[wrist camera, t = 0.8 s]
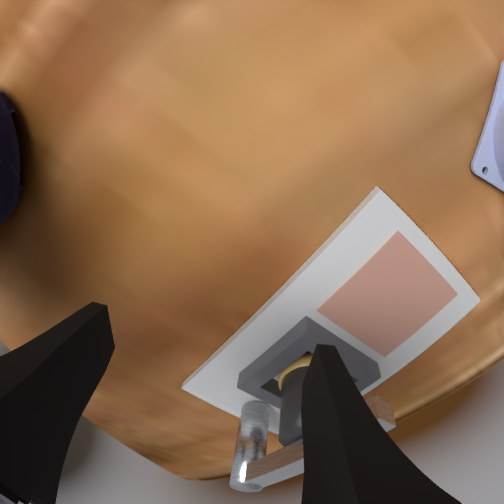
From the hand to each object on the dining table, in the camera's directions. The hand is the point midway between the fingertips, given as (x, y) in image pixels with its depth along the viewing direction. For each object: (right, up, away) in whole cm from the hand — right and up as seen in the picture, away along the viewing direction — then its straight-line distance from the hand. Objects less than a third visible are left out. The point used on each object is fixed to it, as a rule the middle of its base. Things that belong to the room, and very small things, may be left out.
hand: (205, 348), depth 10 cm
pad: (+10, 0, +9) cm, 14 cm away
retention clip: (+5, -6, +12) cm, 15 cm away
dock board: (+7, -4, +12) cm, 14 cm away
